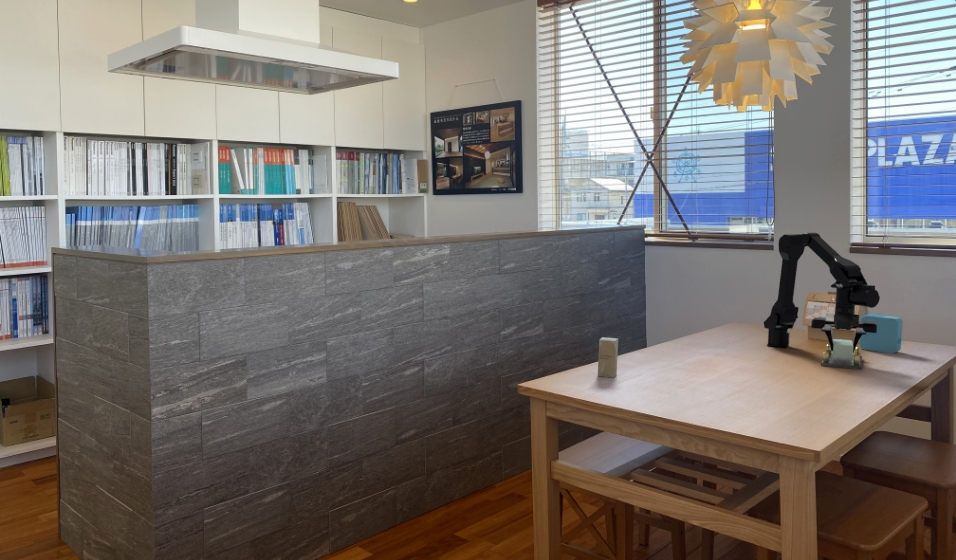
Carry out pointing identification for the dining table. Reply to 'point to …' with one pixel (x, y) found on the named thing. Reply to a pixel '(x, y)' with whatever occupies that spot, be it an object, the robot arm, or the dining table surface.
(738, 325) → the dining table surface
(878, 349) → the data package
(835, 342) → the pale green block
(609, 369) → the box
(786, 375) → the dining table surface
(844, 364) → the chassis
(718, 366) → the dining table surface
